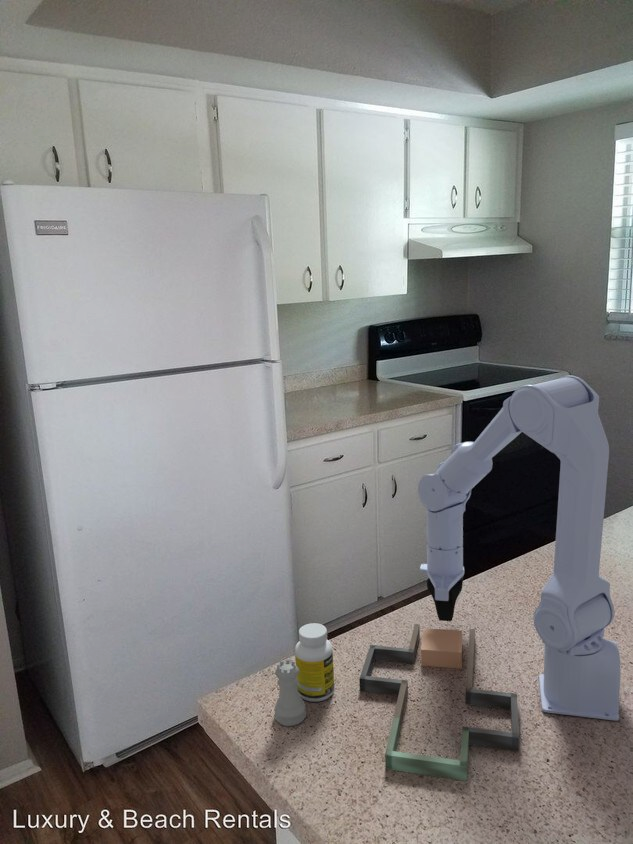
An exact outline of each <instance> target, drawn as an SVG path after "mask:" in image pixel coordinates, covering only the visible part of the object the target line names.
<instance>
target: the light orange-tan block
mask: <svg viewBox="0 0 633 844" xmlns="http://www.w3.org/2000/svg"><path fill="white" fill-rule="evenodd" d="M420 663H421V666H423V667H424V666H425V667H436V668H437V667H438V668H448V669H449V668H450V669H460V670H462V669H463V630H458V629H457V630H456V629H455V630H454V629H443V628H441V629H440V628H428V627H427V628H426V627H424V628H423V630H422V638H421V647H420Z"/></svg>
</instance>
